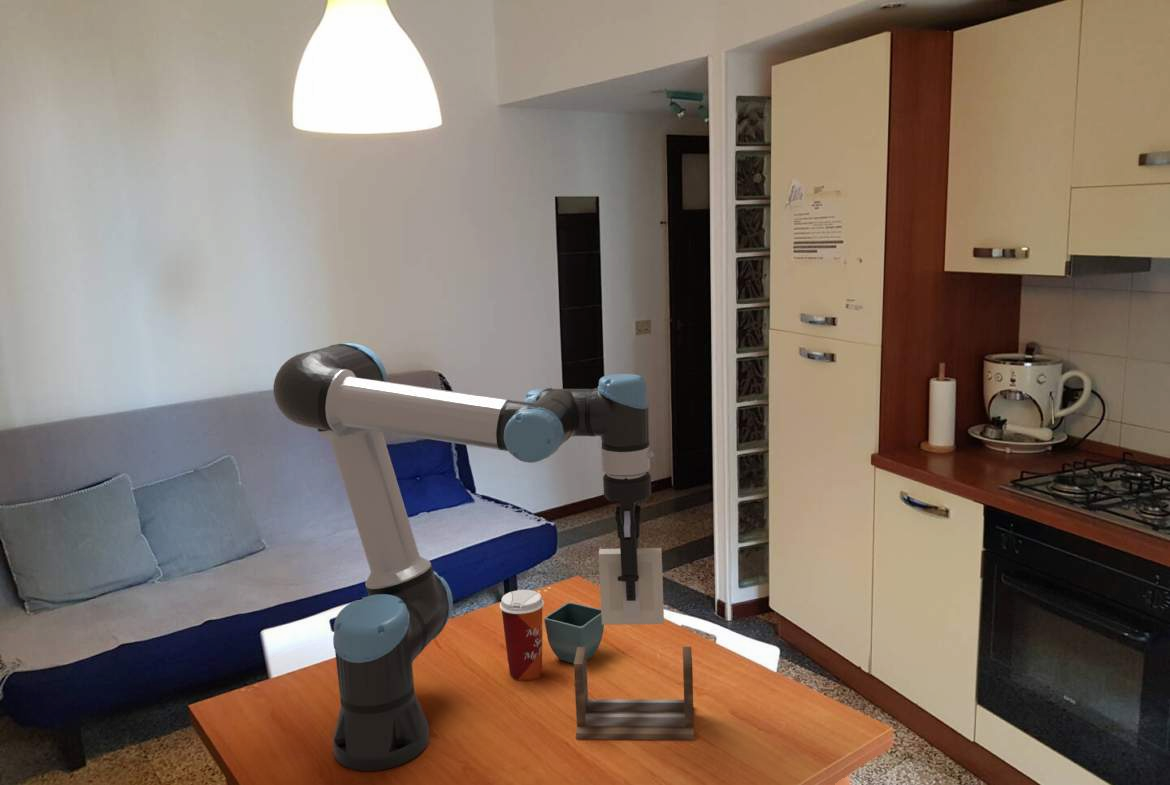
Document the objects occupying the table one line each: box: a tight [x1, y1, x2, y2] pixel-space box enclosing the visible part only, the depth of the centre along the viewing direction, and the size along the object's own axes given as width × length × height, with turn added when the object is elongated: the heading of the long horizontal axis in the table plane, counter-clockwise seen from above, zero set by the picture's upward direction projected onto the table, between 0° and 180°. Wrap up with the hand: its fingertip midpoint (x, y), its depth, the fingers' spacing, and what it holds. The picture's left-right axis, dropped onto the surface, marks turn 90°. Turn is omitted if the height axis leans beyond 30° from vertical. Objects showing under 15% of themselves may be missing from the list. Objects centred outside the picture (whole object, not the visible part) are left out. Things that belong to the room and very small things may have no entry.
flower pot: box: [543, 601, 605, 664], centre depth 171 cm, size 9×9×9 cm
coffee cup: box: [499, 589, 545, 682], centre depth 165 cm, size 8×8×15 cm
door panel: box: [598, 547, 665, 626], centre depth 144 cm, size 10×2×12 cm, turn 85°
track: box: [573, 646, 695, 741], centre depth 147 cm, size 19×10×12 cm, turn 85°
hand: (632, 612), depth 145 cm, fingers closed on door panel, 2 cm apart
